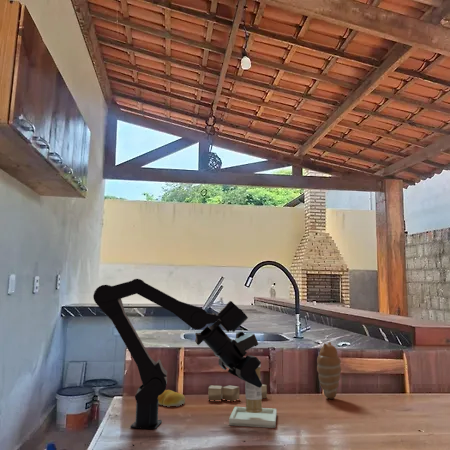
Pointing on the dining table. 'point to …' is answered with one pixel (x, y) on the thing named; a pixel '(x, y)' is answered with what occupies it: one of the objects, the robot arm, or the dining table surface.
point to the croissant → (329, 370)
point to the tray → (253, 418)
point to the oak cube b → (230, 393)
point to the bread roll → (171, 398)
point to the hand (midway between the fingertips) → (257, 384)
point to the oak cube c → (264, 391)
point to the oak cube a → (215, 393)
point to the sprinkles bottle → (253, 395)
